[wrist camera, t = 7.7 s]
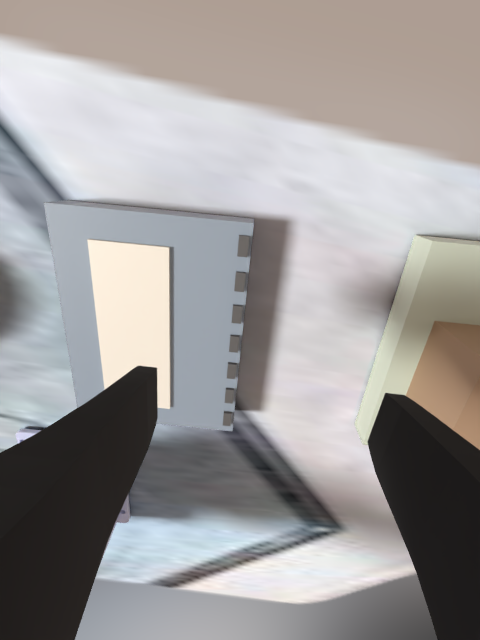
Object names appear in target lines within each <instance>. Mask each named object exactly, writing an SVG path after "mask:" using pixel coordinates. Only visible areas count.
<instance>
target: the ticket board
mask: <svg viewBox="0 0 480 640" xmlns="http://www.w3.org/2000/svg"><path fill="white" fill-rule="evenodd" d="M44 207H45V213H46V219H47V225H48V231H49V237H50V243H51V250H52V256H53V262H54V268H55V274H56V280H57V286H58V292H59V298H60V304H61V310H62V317H63V323H64V329H65V335H66V341H67V347H68V353H69V359H70V365H71V371H72V378H73V384H74V390H75V396H76V402H77V408H78V407H80V406H82V405H83V404H85V403H86V402H88V401H89V400H91V399H92V398H93V397H95V396H96V395H98V394H99V393H101V392H102V391H103V390H105V389H106V388H108V387H109V386H110V385H112V384H113V383H114V382H116V381H117V380H119V379H120V378H121V377H123V376H124V375H125V374H127V373H128V372H129V371H131V370H132V369H134V368H135V367H137V366H147V367H156V368H157V404H158V419H157V422H156V424H164V425H174V426H184V427H194V428H204V429H214V430H224V431H232V429H233V419H234V410H235V400H236V391H237V381H238V372H239V362H240V352H241V343H242V333H243V324H244V314H245V304H246V295H247V285H248V276H249V266H250V257H251V247H252V237H253V228H254V219H253V218H243V217H233V216H223V215H212V214H202V213H192V212H182V211H172V210H162V209H152V208H142V207H132V206H122V205H111V204H101V203H91V202H81V201H71V200H64V201H54V202H44Z"/></svg>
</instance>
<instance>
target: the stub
mask: <svg viewBox="0 0 480 640" xmlns="http://www.w3.org/2000/svg"><path fill="white" fill-rule="evenodd" d="M385 393H391V394H400V395H405V396H407V397H409V398H410V399H412V400H413V401H415V402H416V403H417V404H419V405H420V406H422V407H423V408H424V409H426V410H427V411H428V412H430V413H431V414H432V415H434V416H435V417H436V418H438V419H439V420H440V421H442V422H443V423H444V424H446V425H447V426H448V427H450V428H451V429H452V430H454V431H455V432H456V433H458V434H459V435H460V436H462V437H463V438H464V439H466V440H467V441H468V442H470V443H471V444H472V445H474V446H475V447H476V448H478V449H479V450H480V241H471V240H461V239H451V238H441V237H430V236H420V235H415V236H414V239H413V242H412V245H411V248H410V251H409V254H408V258H407V261H406V264H405V267H404V270H403V273H402V276H401V280H400V283H399V286H398V289H397V292H396V295H395V299H394V302H393V305H392V308H391V311H390V314H389V317H388V321H387V324H386V327H385V330H384V333H383V336H382V339H381V343H380V346H379V349H378V352H377V355H376V358H375V361H374V365H373V368H372V371H371V374H370V377H369V380H368V383H367V387H366V390H365V393H364V396H363V399H362V402H361V405H360V409H359V412H358V415H357V418H356V421H355V427H356V429H357V432H358V434H359V437H360V439H361V442H362V444H363V445H368V442H367V441H368V438H369V436H370V433H371V430H372V428H373V425H374V422H375V419H376V417H377V414H378V411H379V409H380V406H381V403H382V400H383V398H384V395H385Z"/></svg>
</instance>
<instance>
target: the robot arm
mask: <svg viewBox="0 0 480 640" xmlns="http://www.w3.org/2000/svg"><path fill="white" fill-rule="evenodd" d="M157 419H158V404H157V368H156V367H147V366H137V367H135V368H134V369H132V370H131V371H129V372H128V373H127V374H125V375H124V376H123V377H121V378H120V379H119V380H117V381H116V382H114V383H113V384H112V385H110V386H109V387H108V388H106V389H105V390H103V391H102V392H101V393H99V394H98V395H96V396H95V397H93V398H92V399H91V400H89V401H88V402H86V403H85V404H83V405H82V406H80V407H78V408H77V409H75V410H74V411H72V412H71V413H69V414H68V415H66V416H64V417H63V418H61V419H60V420H58V421H57V422H55V423H54V424H52V425H50V426H48V427H47V428H45V429H43V430H33V429H20V430H19V431H18V432H17V433H16V439H17V442H18V444H16V445H14V446H13V447H11V448H9V449H7V450H5V451H3V452H1V453H0V640H75V637H76V634H77V631H78V628H79V624H80V622H81V619H82V615H83V612H84V610H85V607H86V603H87V601H88V597H89V595H90V592H91V589H92V586H93V583H94V580H95V577H96V574H97V571H98V568H99V565H100V563H101V560H102V558H103V555H104V553H105V550H106V548H107V545H108V543H109V540H110V538H111V535H112V533H113V530H114V528H115V526H116V523H117V522H120V523H126V522H128V521H129V519H130V505H129V494H128V493H129V491H130V489H131V487H132V484H133V482H134V480H135V478H136V475H137V473H138V471H139V469H140V466H141V464H142V462H143V460H144V457H145V455H146V453H147V450H148V448H149V445H150V442H151V439H152V436H153V432H154V429H155V426H156V422H157ZM367 442H368V446H369V450H370V454H371V458H372V461H373V465H374V468H375V472H376V475H377V477H378V480H379V482H380V485H381V487H382V489H383V492H384V494H385V497H386V499H387V502H388V504H389V506H390V509H391V511H392V513H393V516H394V518H395V521H396V523H397V525H398V528H399V530H400V532H401V535H402V537H403V540H404V542H405V544H406V547H407V549H408V551H409V554H410V557H411V559H412V562H413V564H414V567H415V570H416V572H417V575H418V578H419V581H420V584H421V588H422V591H423V594H424V597H425V600H426V603H427V606H428V609H429V612H430V616H431V619H432V622H433V625H434V629H435V632H436V635H437V639H438V640H480V450H479V449H478V448H476V447H475V446H474V445H472V444H471V443H470V442H468V441H467V440H466V439H464V438H463V437H462V436H460V435H459V434H458V433H456V432H455V431H454V430H452V429H451V428H450V427H448V426H447V425H446V424H444V423H443V422H442V421H440V420H439V419H438V418H436V417H435V416H434V415H432V414H431V413H430V412H428V411H427V410H426V409H424V408H423V407H422V406H420V405H419V404H417V403H416V402H415V401H413V400H412V399H410V398H409V397H407V396H405V395H400V394H391V393H385V395H384V398H383V400H382V403H381V406H380V409H379V411H378V414H377V417H376V419H375V422H374V425H373V428H372V430H371V433H370V436H369V438H368V441H367Z"/></svg>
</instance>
